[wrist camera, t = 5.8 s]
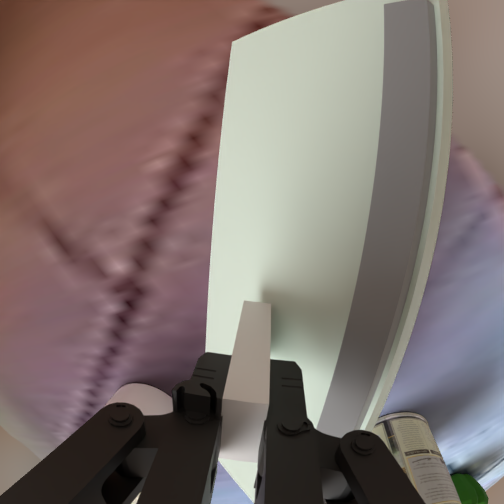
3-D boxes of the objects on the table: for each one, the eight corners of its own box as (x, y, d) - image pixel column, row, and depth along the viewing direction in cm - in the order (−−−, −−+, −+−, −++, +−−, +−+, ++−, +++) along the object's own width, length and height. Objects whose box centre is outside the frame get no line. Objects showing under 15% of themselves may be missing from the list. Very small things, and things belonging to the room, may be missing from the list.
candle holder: (98, 405, 32) (50, 474, 20) (130, 359, 29) (71, 441, 18) (166, 450, 33) (136, 527, 21) (210, 414, 30) (182, 507, 18)
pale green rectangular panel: (211, 437, 23) (197, 442, 22) (244, 45, 16) (224, 39, 15) (306, 541, 14) (290, 551, 13) (446, -5, 6) (429, -27, 5)
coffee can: (404, 467, 31) (427, 553, 17) (331, 466, 31) (339, 565, 18) (444, 411, 28) (489, 504, 14) (366, 407, 28) (395, 522, 15)
